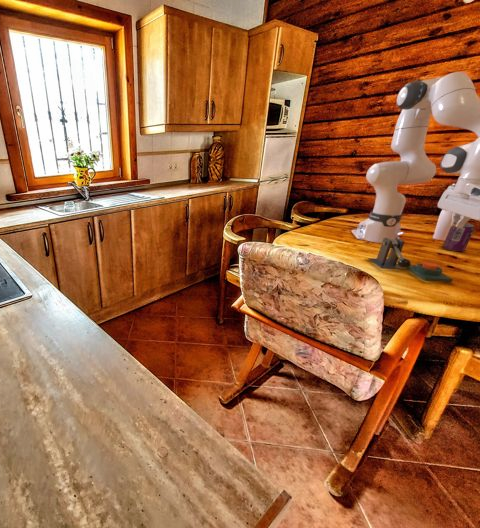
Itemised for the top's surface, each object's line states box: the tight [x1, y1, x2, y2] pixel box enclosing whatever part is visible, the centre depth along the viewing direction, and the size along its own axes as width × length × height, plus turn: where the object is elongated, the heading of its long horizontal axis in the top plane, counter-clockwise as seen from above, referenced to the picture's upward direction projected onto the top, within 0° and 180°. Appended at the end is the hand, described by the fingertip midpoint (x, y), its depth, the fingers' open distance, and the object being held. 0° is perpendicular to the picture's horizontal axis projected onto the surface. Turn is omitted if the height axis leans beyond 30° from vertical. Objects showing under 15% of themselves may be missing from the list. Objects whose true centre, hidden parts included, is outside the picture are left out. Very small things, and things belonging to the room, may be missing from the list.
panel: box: [405, 263, 454, 283], centre depth 107 cm, size 12×8×4 cm, turn 165°
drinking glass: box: [432, 209, 453, 242], centre depth 138 cm, size 7×7×15 cm
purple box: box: [442, 222, 475, 252], centre depth 127 cm, size 7×7×12 cm
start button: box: [422, 261, 439, 270], centre depth 106 cm, size 4×4×2 cm
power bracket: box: [368, 237, 405, 270], centre depth 115 cm, size 10×8×12 cm
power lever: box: [389, 239, 412, 269], centre depth 110 cm, size 14×4×4 cm, turn 165°
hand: (456, 226), depth 99 cm, fingers closed
